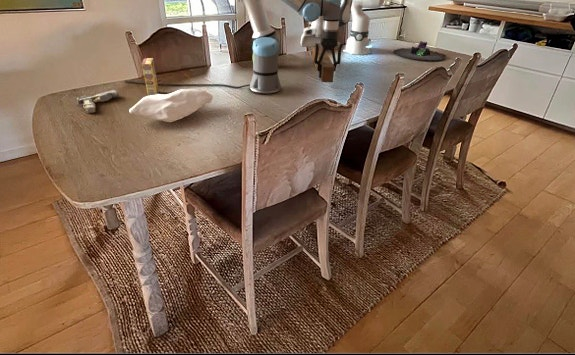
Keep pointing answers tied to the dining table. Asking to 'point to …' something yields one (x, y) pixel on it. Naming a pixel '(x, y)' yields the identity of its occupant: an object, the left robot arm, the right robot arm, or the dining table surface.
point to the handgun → (95, 100)
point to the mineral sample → (419, 53)
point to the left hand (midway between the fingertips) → (325, 77)
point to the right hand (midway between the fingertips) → (316, 54)
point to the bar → (324, 65)
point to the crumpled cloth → (171, 104)
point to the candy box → (150, 76)
